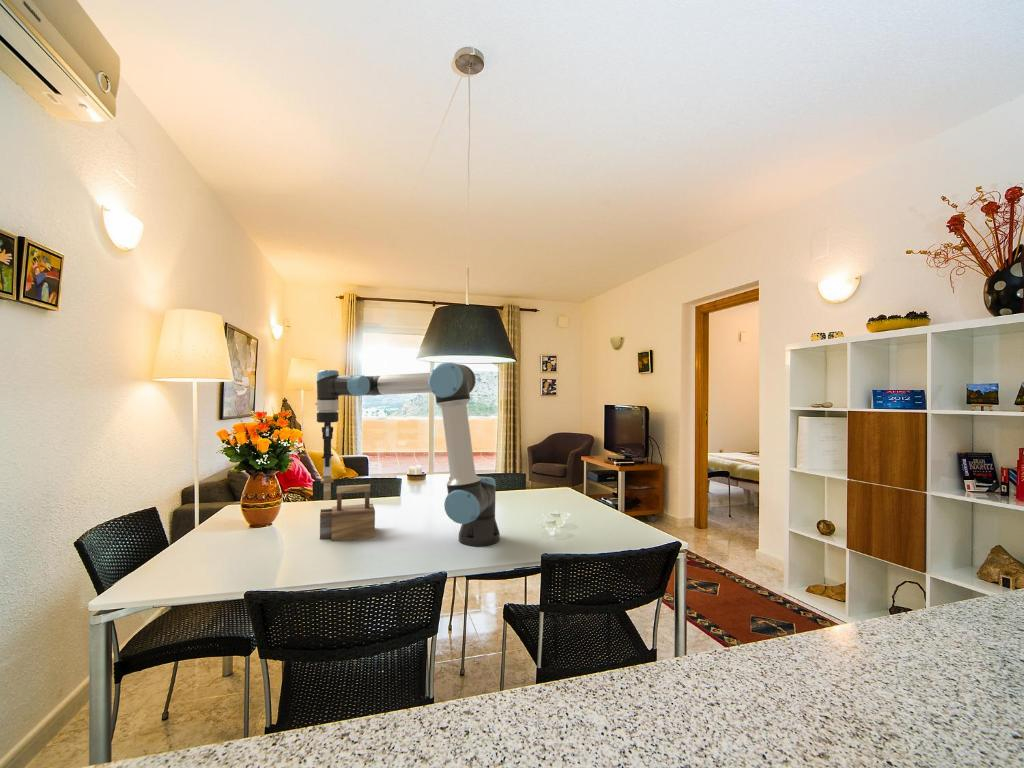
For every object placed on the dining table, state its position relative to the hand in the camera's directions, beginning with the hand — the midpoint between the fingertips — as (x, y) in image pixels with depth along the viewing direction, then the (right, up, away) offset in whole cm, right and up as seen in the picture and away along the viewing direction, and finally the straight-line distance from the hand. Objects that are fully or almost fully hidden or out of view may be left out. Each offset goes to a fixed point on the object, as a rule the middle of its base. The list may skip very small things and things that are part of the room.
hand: (327, 474), depth 174 cm
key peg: (0, -9, 0) cm, 9 cm away
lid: (+7, -15, +2) cm, 17 cm away
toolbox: (+7, -23, +2) cm, 24 cm away
